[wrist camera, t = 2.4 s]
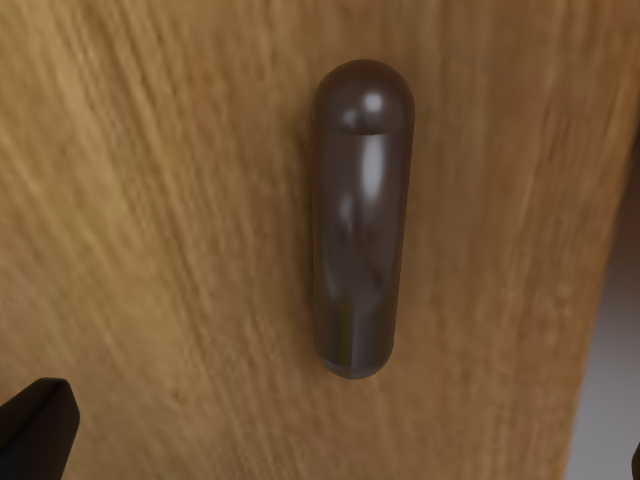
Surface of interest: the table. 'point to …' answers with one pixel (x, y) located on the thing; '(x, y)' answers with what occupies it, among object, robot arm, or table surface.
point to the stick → (359, 212)
